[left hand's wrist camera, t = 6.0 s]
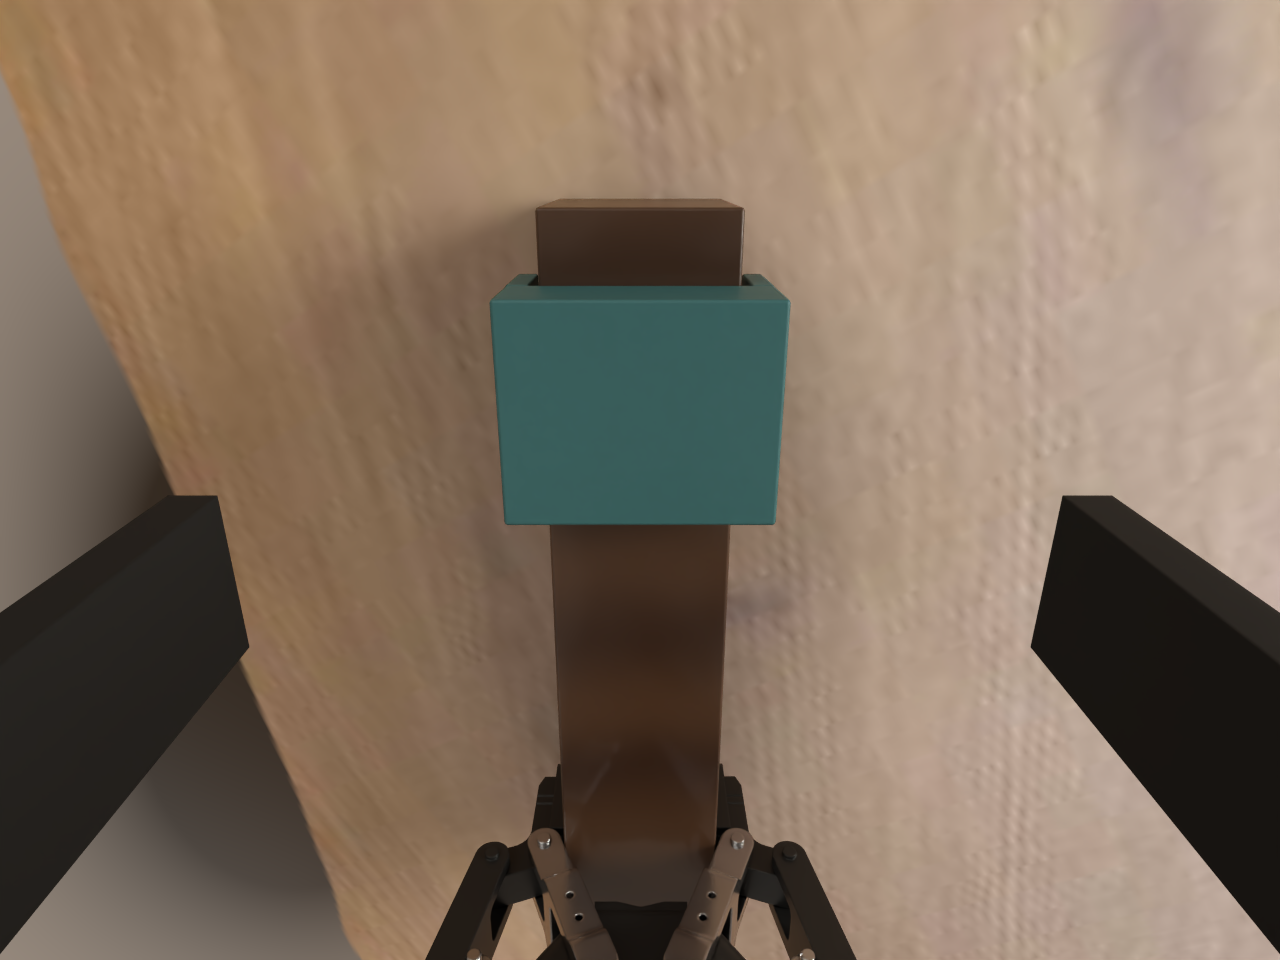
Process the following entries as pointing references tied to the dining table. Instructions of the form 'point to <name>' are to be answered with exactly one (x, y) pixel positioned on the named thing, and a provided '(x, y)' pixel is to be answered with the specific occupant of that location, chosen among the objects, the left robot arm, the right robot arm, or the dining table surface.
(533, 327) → the teal u-shaped block
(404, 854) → the dining table surface
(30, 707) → the left robot arm
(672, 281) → the bar
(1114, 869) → the dining table surface
